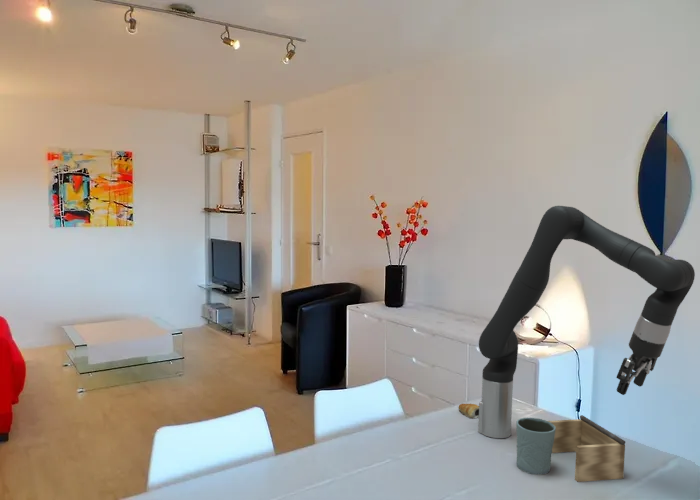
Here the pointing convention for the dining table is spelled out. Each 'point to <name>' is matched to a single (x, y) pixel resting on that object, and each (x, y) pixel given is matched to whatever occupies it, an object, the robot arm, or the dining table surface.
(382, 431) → the dining table surface
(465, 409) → the pastry
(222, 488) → the dining table surface
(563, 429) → the oak caddy
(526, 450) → the green ceramic pot
